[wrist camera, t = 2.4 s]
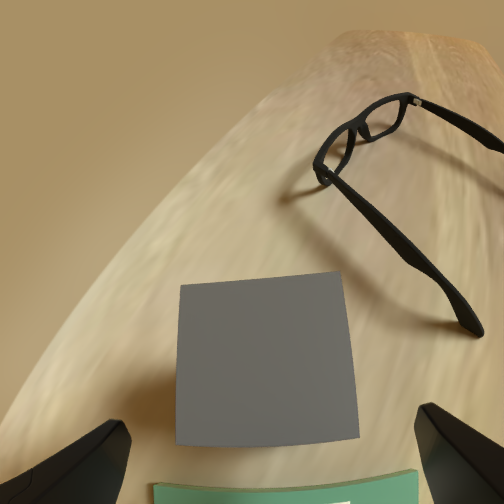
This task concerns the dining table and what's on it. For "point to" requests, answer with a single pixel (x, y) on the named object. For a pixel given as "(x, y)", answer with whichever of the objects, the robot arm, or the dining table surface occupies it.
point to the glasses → (379, 220)
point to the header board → (301, 492)
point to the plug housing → (265, 363)
